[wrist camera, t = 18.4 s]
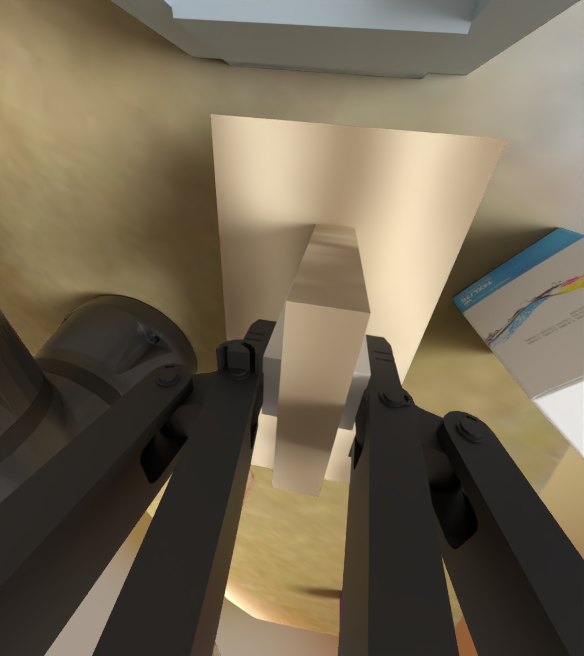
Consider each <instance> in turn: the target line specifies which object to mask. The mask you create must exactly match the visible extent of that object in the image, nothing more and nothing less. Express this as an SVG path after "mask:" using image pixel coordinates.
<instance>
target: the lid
mask: <svg viewBox="0 0 584 656" xmlns="http://www.w3.org/2000/svg"><path fill="white" fill-rule="evenodd" d="M211 127H212V142H213V156H214V170H215V184H216V198H217V212H218V226H219V240H220V254H221V268H222V282H223V296H224V311H225V325H226V339H227V341H230V340H234V339H244V337H245V335H246V333H247V331H248V329H249V327H250V326H251V324H253V323H254V322H255V321H257V320H258V319H262V320H269V321H275V322H277V320H278V318H279V315H280V313H281V310H282V308H283V305H284V303H285V300H286V307H285V320H284V334H283V347H282V360H281V374H280V387H279V400H278V413H277V417H275V416H270V415H265V414H262V408H261V411H260V414H259V417H258V430H257V435H256V440H255V445H254V450H253V455H252V460H251V464H252V465H257V466H262V467H267V468H272V469H273V480H272V487H275V488H279V489H284V490H289V491H294V492H298V493H303V494H308V495H313V496H317V497H319V494H320V491H321V487H322V484H323V480H324V479H326V480H331V481H336V482H340V483H345V484H350V471H351V457H348V455H349V451H350V449H351V446H352V443H353V440H354V437H355V434H356V429H355V424H354V427H353V430H352V431H351V430H345V429H340V428H338V427H339V424H340V420H341V417H342V413H343V409H344V406H345V402H346V399H347V395H348V392H349V388H350V385H351V381H352V378H353V374H354V371H355V367H356V363H357V360H358V356H359V353H360V349H361V346H362V342H363V339H364V335H365V334H366V335H372V336H379V337H384V338H385V339H386V340H387V341H388V343H389V344H390V345H391V347H392V351H393V356H394V359H395V363H396V367H397V371H398V374H399V378H400V382H401V385H402V383H403V380H404V378H405V376H406V373H407V371H408V369H409V366H410V364H411V362H412V360H413V357H414V355H415V353H416V350H417V348H418V346H419V343H420V341H421V339H422V336H423V334H424V332H425V329H426V327H427V325H428V323H429V320H430V318H431V316H432V313H433V311H434V309H435V306H436V304H437V302H438V299H439V297H440V295H441V292H442V290H443V288H444V286H445V283H446V281H447V279H448V276H449V274H450V272H451V269H452V267H453V265H454V262H455V260H456V258H457V255H458V253H459V251H460V248H461V246H462V244H463V242H464V239H465V237H466V235H467V232H468V230H469V228H470V225H471V223H472V221H473V218H474V216H475V214H476V211H477V209H478V207H479V205H480V202H481V200H482V198H483V195H484V193H485V191H486V188H487V186H488V184H489V181H490V179H491V177H492V174H493V172H494V170H495V168H496V165H497V163H498V161H499V158H500V156H501V154H502V151H503V149H504V147H505V144H506V142H507V140H508V139H499V138H487V137H475V136H463V135H451V134H440V133H428V132H416V131H404V130H392V129H380V128H368V127H357V126H345V125H333V124H321V123H309V122H297V121H286V120H274V119H262V118H250V117H238V116H226V115H214V114H211ZM294 278H295V279H294ZM293 280H294V282H293ZM292 283H293V284H292ZM291 285H292V287H291ZM290 288H291V289H290ZM289 290H290V292H289ZM288 293H289V294H288ZM287 295H288V297H287ZM286 298H287V299H286Z"/></svg>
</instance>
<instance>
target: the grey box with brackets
mask: <svg viewBox="0 0 584 656" xmlns="http://www.w3.org/2000/svg"><path fill="white" fill-rule="evenodd" d="M110 1H112V2H113V3H115V4H116V5H118V6H119V7H121V8H122V9H123V10H125V11H126V12H128V13H129V14H131V15H132V16H134V17H135V18H137V19H138V20H139V21H141V22H142V23H144V24H145V25H147V26H148V27H150V28H151V29H153V30H154V31H156V32H157V33H158V34H160V35H161V36H163V37H164V38H166V39H167V40H169V41H170V42H172V43H173V44H175V45H176V46H177V47H179V48H180V49H182V50H183V51H185V52H186V53H188V54H189V55H191V56H192V57H199V58H215V59H223V60H224V61H225V62H226V63H227V64H229V65H230V66H238V67H252V68H267V69H281V70H296V71H311V72H325V73H340V74H355V75H369V76H384V77H398V78H413V79H422V78H423V77H424V76H425V75H426V74H427V73H441V74H456V75H468V74H469V73H471V72H472V71H474V70H475V69H477V68H478V67H480V66H481V65H483V64H484V63H486V62H487V61H489V60H490V59H492V58H493V57H495V56H496V55H498V54H499V53H501V52H503V51H504V50H506V49H507V48H509V47H510V46H512V45H513V44H515V43H516V42H518V41H519V40H521V39H522V38H524V37H525V36H527V35H528V34H530V33H531V32H533V31H534V30H536V29H537V28H539V27H540V26H542V25H544V24H545V23H547V22H548V21H550V20H551V19H553V18H554V17H556V16H557V15H559V14H560V13H562V12H563V11H565V10H566V9H568V8H569V7H571V6H572V5H574V4H575V3H577V2H578V1H580V0H110Z"/></svg>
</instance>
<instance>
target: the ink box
mask: <svg viewBox="0 0 584 656" xmlns="http://www.w3.org/2000/svg"><path fill="white" fill-rule="evenodd" d="M452 300H453V302H454V303H455V304H456V306H457V307H458V308H459V310H460V311H461V312H462V314H463V315H464V316H465V317H466V319H467V320H468V321H469V323H470V324H471V325H472V326H473V328H474V329H475V330H476V332H477V333H478V334H479V335H480V337H481V338H482V339H483V341H484V342H485V343H486V344H487V346H488V347H489V348H490V349H491V351H492V352H493V353H494V354H495V356H496V357H497V358H498V359H499V360H500V362H501V363H502V364H503V366H504V367H505V368H506V369H507V371H508V372H509V373H510V375H511V376H512V377H513V378H514V380H515V381H516V382H517V384H518V385H519V386H520V387H521V389H522V390H523V391H524V393H525V394H526V395H527V396H528V398H529V399H530V400H531V401H532V402H533V403H534V404H535V405H536V407H537V408H538V409H539V410H540V411H541V412H542V413H543V414H544V416H545V417H546V418H547V419H548V420H549V421H550V422H551V423H552V424H553V426H554V427H555V428H556V429H557V430H558V431H559V432H560V433H561V434H562V436H563V437H564V438H565V439H566V440H567V441H568V442H569V443H570V445H571V446H572V447H573V448H574V449H575V450H576V451H577V452H578V454H579V455H580V456H581V457H582V458H583V459H584V235H582V234H579V233H576V232H573V231H570V230H567V229H564V228H558V229H556V230H555V231H553V232H551V233H550V234H548V235H547V236H545V237H544V238H542V239H540V240H539V241H537V242H536V243H535V244H533V245H532V246H530V247H528V248H527V249H525V250H524V251H522V252H520V253H519V254H517V255H516V256H514V257H513V258H511V259H510V260H508V261H507V262H505V263H503V264H502V265H500V266H499V267H497V268H496V269H494V270H493V271H491V272H490V273H488V274H487V275H485V276H484V277H482V278H481V279H479V280H478V281H476V282H475V283H473V284H472V285H471V286H469V287H468V288H466V289H465V290H463V291H462V292H461V293H459V294H458V295H456V296H455V297H454V298H453V299H452Z"/></svg>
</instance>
